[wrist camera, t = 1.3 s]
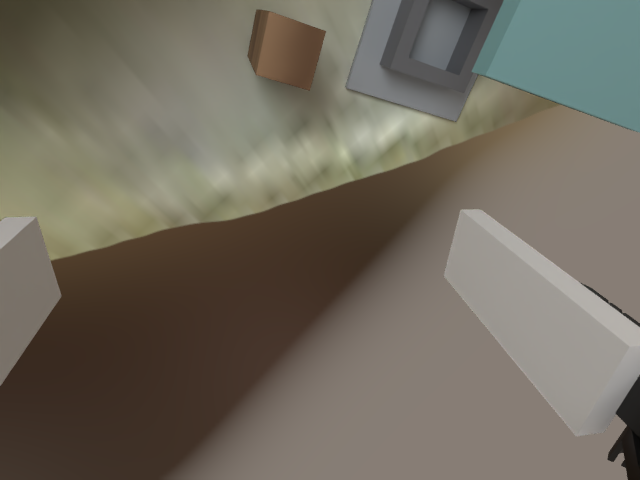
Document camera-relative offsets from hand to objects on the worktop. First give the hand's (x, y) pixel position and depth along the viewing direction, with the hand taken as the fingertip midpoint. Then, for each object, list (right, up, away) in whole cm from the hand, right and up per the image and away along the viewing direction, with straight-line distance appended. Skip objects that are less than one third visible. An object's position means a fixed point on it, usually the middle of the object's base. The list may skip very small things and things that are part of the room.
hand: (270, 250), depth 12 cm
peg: (-3, +20, +24) cm, 31 cm away
